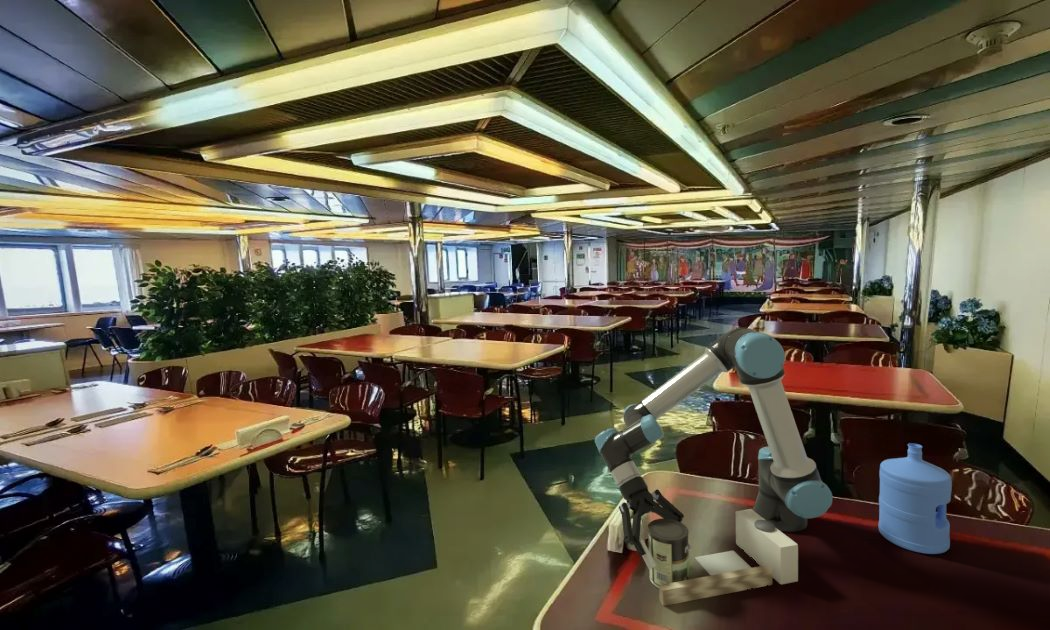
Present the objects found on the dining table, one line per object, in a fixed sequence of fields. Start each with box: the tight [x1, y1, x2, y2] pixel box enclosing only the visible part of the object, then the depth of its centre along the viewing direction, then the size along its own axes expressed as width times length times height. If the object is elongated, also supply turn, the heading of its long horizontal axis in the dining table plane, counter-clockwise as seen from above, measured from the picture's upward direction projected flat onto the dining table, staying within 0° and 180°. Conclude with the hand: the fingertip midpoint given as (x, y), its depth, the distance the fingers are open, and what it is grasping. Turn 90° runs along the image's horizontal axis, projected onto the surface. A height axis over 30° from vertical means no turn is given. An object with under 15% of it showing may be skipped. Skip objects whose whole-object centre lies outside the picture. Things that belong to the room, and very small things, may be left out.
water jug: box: [878, 442, 953, 555], centre depth 129 cm, size 16×16×28 cm
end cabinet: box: [694, 508, 799, 585], centre depth 123 cm, size 20×18×11 cm
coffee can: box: [646, 518, 690, 589], centre depth 119 cm, size 10×10×14 cm
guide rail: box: [658, 565, 773, 607], centre depth 114 cm, size 30×2×4 cm, turn 100°
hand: (671, 558), depth 118 cm, fingers open, 13 cm apart
